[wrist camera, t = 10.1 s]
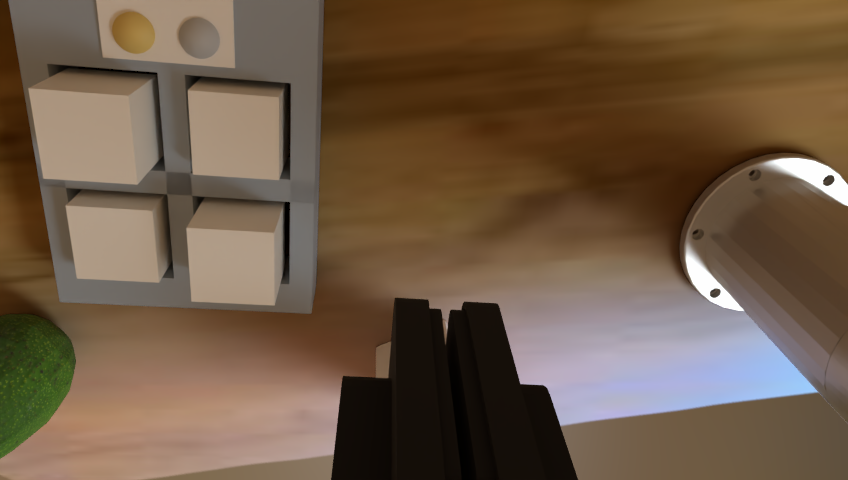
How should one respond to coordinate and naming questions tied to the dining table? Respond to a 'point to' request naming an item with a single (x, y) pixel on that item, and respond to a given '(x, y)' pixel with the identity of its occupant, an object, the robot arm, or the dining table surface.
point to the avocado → (31, 375)
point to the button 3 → (239, 127)
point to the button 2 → (120, 235)
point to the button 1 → (97, 125)
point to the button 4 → (236, 251)
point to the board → (185, 121)
